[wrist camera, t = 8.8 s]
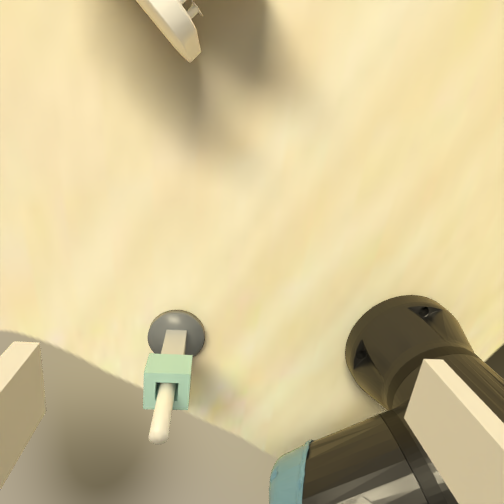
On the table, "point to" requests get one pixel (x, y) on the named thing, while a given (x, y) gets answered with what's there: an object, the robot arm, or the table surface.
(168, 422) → the post
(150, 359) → the sleeve
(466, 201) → the table surface
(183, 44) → the cable organizer
